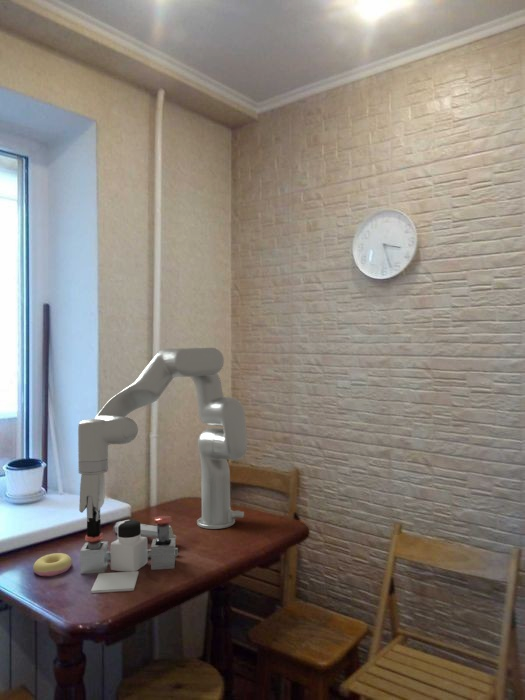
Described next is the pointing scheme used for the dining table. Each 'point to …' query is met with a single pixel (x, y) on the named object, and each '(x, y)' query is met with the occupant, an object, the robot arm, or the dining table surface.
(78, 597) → the dining table surface
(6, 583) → the dining table surface
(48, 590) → the dining table surface
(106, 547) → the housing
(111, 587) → the mat
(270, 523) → the dining table surface
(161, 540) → the plunger
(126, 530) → the medicine bottle
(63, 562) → the donut
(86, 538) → the plunger
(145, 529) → the grey piece
